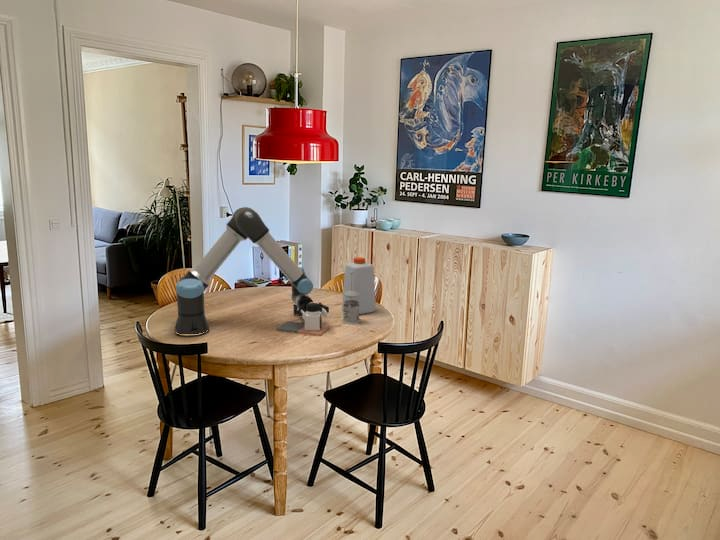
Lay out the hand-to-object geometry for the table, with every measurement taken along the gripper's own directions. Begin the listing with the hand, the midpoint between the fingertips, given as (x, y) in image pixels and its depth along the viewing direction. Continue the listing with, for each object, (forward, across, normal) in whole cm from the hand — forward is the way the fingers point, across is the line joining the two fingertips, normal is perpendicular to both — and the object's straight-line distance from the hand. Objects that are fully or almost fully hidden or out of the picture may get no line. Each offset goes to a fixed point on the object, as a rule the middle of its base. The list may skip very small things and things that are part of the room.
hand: (315, 315), depth 247 cm
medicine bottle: (-5, 0, -8) cm, 9 cm away
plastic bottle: (-30, -31, -9) cm, 44 cm away
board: (-7, +4, -8) cm, 12 cm away
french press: (-15, -22, -9) cm, 27 cm away
